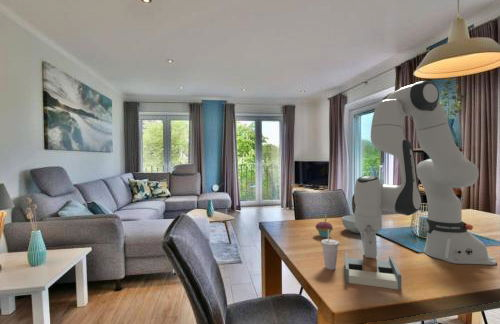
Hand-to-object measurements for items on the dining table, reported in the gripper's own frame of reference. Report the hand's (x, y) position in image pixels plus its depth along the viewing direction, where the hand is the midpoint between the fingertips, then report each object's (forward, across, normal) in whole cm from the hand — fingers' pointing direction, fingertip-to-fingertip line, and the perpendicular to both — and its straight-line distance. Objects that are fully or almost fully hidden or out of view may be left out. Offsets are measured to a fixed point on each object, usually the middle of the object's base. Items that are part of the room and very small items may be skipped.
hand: (368, 260), depth 94 cm
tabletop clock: (+4, +75, -4) cm, 75 cm away
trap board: (+4, -3, 0) cm, 5 cm away
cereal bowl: (+4, +51, +1) cm, 51 cm away
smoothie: (+4, 0, +13) cm, 14 cm away
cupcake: (+4, +38, +18) cm, 42 cm away
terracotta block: (+1, -4, 0) cm, 4 cm away
